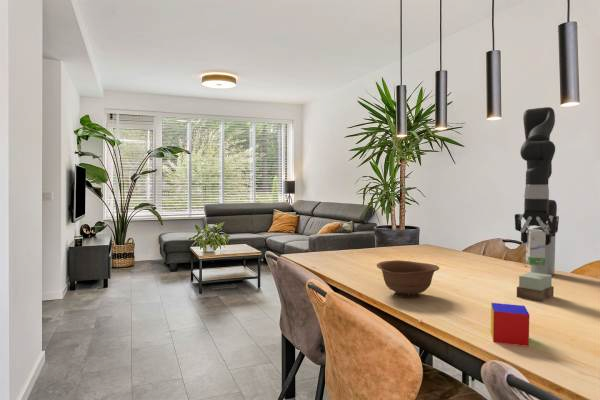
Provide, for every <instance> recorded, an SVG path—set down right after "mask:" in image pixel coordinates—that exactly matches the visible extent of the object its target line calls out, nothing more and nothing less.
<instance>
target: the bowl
mask: <svg viewBox="0 0 600 400" xmlns="http://www.w3.org/2000/svg"><path fill="white" fill-rule="evenodd" d="M376 267H377V268H378V269H380V270H381V272H382V277H383V282H384V283H385V285H386V287H387V288H388V289H389V290H391V291H393V292H394V296H395V297H398V298H401V299H417V298H419V297H420V296H421V295H420V294H421V293H424V292H425V291H427V290H428V288H430V285H431V284H432V281H433V276H434V274H435V272H436V271H438V270H439V269H440V267H439V266H438V265H437V264H433V263H426V262H425V263H424V262H417V261H412V260H411V261H410V260H397V259H396V260H385V261H380V262H377V263H376Z"/></svg>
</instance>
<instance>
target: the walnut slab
mask: <svg viewBox="0 0 600 400" xmlns="http://www.w3.org/2000/svg"><path fill="white" fill-rule="evenodd" d="M554 288H555V287H554V286H551V287H549V288H546V289H544V290H541V291H538V290H533V289H527V288H521V287H519V285H518V286H516V298H520V299H525V300H531V301H534V302H540V303H542V302H544V301H546V300H549V299H550V298H554Z"/></svg>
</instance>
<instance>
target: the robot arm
mask: <svg viewBox="0 0 600 400" xmlns="http://www.w3.org/2000/svg"><path fill="white" fill-rule="evenodd" d="M555 122H556V114H555V110H554V108H552V107H549V106H547V107H546V106H545V107H535V108H529V109H526V110H525V111H524V112H523V128H524V129H523V130H524V137H525V138H524V139H525V141H524V142H523V143H522V145H521V147H520V157H521V159H522V160H524V161H526V171H525V188H524V195H523V197H524V203H523V204H524V206H523V207H524V208H523V209H524V212H523V213H521V214H520V213H516V214H514V230H515V231H518V232H520V241H521V242H522V244H526V243H527V230H528V229H530V227H531V226H535V227H533V228H532V229H534V230H542V231H544V232H545V233H546V240H545V266H543V265H530V272H533V273H540V274H546V275H552V276H554V275H555V269H556V268H555V266H556V265H555V264H556V234H557V233H558V231H559V221H560V220H559V219H560V216H558V215H557V213H558V206H557V202H556V200H554V199H550V188H549V179H550V177H552V173H553V169H552V167H553V166H552V163H553V158H554V156H555V153H556V146H555V144H554V142H553V141H551V140H550V139H551V134H552V132H553V129H554V127H555V124H556V123H555ZM523 219H524V220H525V222H524V224H523V226H522V220H523Z"/></svg>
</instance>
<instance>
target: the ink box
mask: <svg viewBox="0 0 600 400" xmlns="http://www.w3.org/2000/svg"><path fill="white" fill-rule="evenodd" d="M526 233H527V243H525V244H526V245H525V246H526V247H525V261H526V262H527V263H528V264H529V266H531V265H543V266H545V240H546V233H545V232H544V231H542V230H534V229H533V228H532V229H531V228H528V230H527V231H526Z"/></svg>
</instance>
